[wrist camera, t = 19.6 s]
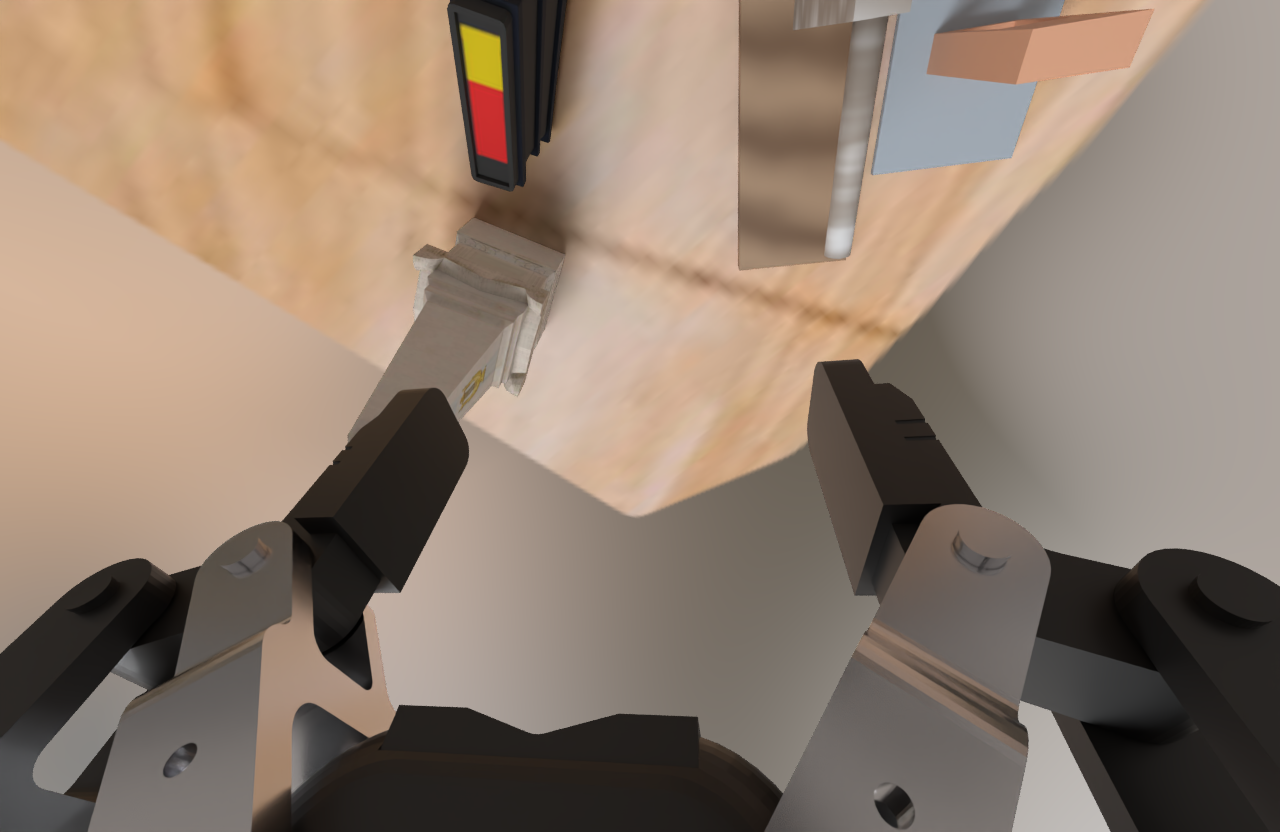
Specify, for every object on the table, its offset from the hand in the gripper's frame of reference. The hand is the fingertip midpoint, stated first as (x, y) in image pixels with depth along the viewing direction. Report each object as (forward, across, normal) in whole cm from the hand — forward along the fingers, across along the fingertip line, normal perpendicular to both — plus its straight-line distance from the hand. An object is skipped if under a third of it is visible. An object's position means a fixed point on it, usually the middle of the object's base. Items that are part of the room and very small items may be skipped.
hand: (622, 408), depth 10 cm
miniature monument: (+38, +18, +11) cm, 44 cm away
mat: (+38, -23, -3) cm, 45 cm away
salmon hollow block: (+38, -23, -3) cm, 44 cm away
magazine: (+38, +10, -6) cm, 40 cm away
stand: (+38, -11, +1) cm, 40 cm away
